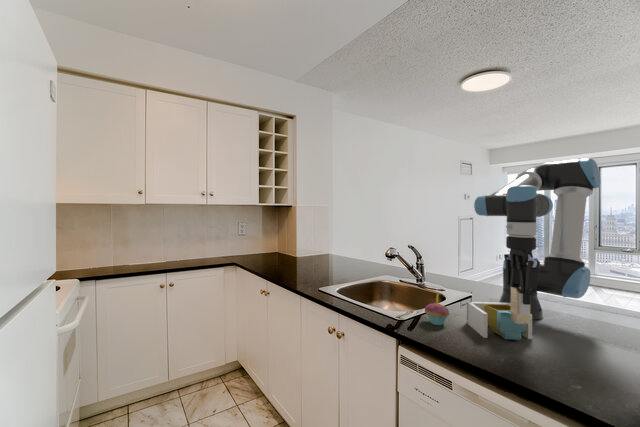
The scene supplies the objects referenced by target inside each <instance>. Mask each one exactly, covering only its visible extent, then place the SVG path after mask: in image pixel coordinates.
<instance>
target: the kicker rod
mask: <svg viewBox="0 0 640 427" xmlns="http://www.w3.org/2000/svg"><path fill="white" fill-rule="evenodd" d="M519 291H521V287H516V286H511V311H501V310H497V329H498V330H499V331H501V337H502V338H503V339H504V340H522V335H521V332H526V324H530V315H520V314H519Z"/></svg>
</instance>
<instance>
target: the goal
mask: <svg viewBox="0 0 640 427" xmlns="http://www.w3.org/2000/svg"><path fill="white" fill-rule="evenodd" d="M484 304H492V305H510V306H511V303H499V301H498V302H494V301H493V302H491V301H490V302H489V301H488V302H487V301H486V302H485V301H484V302H483V301H466V324H467V325H469V327H471V328H472V329H473V330H474V331H475V332H476V333H477V334H479V335H480V336H481V337H482V338H484V339H485V338H486V339H487V338H488V326H489V324H488V314H487V313H486V312H485V309H484ZM521 336H523V337H524V338H526V339H528V340H533V319H532V315H531V314H530V324H526V332H521Z"/></svg>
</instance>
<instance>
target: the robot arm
mask: <svg viewBox="0 0 640 427" xmlns="http://www.w3.org/2000/svg"><path fill="white" fill-rule="evenodd" d="M600 175H601V173H600V170H599V167H598V164H597V161H596V160H594V159H593V158H588V157H587V158H577V159H568V160H561V161H553V162H544V163H541V164H537V165H535V166H531V167H529V168H528V169H525V170H524V171H522V172H521V173H519V174H518V175H517V176H516V177H515V179H514V180H512V181H510V182H509V183H507V184H506V185H504V186H503V187H501V188H500V189H498V190H497V191H494V192H493V193H491V194H490V195H480V196H479V195H478V196H477V197H476V199H475V200H474V203H473V208H474V212H475V214H476V215H478V216H482V217H483V216H484V217H506V225H505V228H506V235H508V236H506V237H505V238H506V239H505V240H506V242H505V243H506V244H505V246H506V248H507V249H509V253H507V254H506V253H505V254H503V258H504V260H503V266H502V294H501V296H500V299H499V301H498V303H511V286H516V287H521V291H519V314H520V315H530V314H531V315H532V320H540V319H543V317H544V316H543V315H544V313H543V311H544V310H543V309H542V306H541V303H540V301H539V299H538V292H540V293H544V294H549V295H550V294H551V295H555V296H559V297H563V298H571V299H580V298H582V297H584V295H586V293H587V291H588V289H589V286H590V282H591V270H590V268H589V267H587V266H586V263H585V261H583V259H582V258H581V252H582V243H583V242H582V241H583V235H584V234H583V233H584V226H585V225H584V224H585V216H586V207H587V206H586V205H587V198H588V197H590V196H591V195H592V194H593V193H594V192H593V190H594V189H598V188H600V186H601V176H600ZM538 191H553V194H555V195H556V196H557V198H556V207H555V208H556V209H555V213H554V214H555V216H554V223H553V230H552V238H551V244H550V245H551V247H550V253H549V254H547V255H546V256H544V260H543V261H540V260H539V259H538V257H536V256H534V255H533V251H535V250H536V248H537V238H536V237H535V236H537V218H540V217H544V216H547V215H548V214H549V213H551V212H552V210H553V206H554V204H553V200H552V199H551V198H550V197H549V196H547V195H545V194H543V193H537V192H538Z"/></svg>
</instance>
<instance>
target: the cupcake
mask: <svg viewBox="0 0 640 427" xmlns="http://www.w3.org/2000/svg"><path fill="white" fill-rule="evenodd" d="M449 312H450V311H449V309H448V308H447V306H445V305H444V304H441V303H439V293H438V292H437V294H436V302H432V303H429V304H427V305H426V306H424V313H425V314H427V317H428V319H429V323H430V324H431V325H435V326H443V325H444V324H445V321H446V319H447V318H448V316H449V315H450V313H449Z"/></svg>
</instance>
